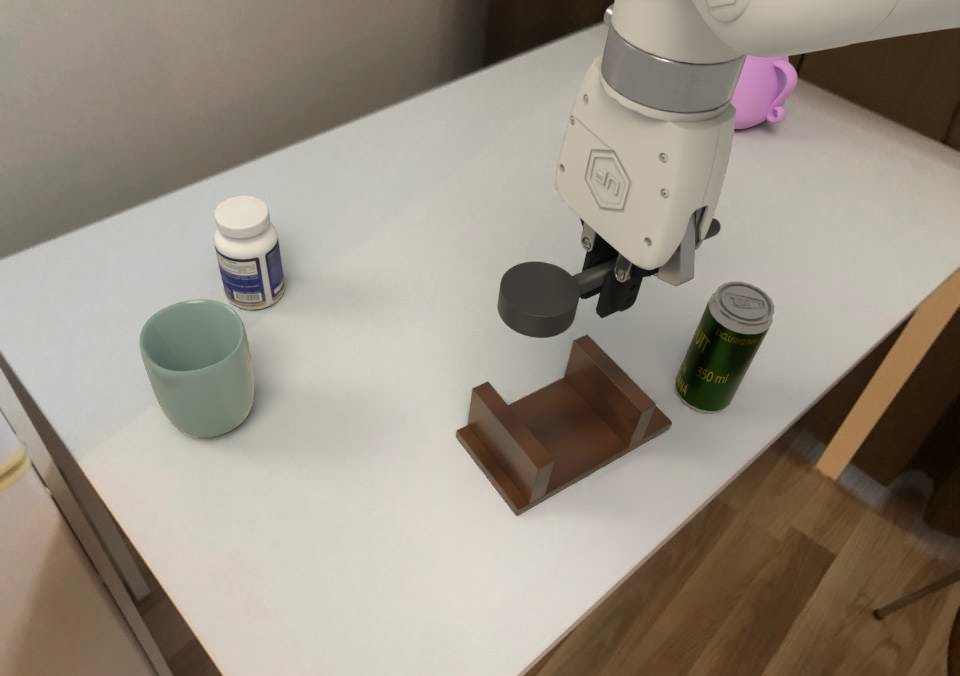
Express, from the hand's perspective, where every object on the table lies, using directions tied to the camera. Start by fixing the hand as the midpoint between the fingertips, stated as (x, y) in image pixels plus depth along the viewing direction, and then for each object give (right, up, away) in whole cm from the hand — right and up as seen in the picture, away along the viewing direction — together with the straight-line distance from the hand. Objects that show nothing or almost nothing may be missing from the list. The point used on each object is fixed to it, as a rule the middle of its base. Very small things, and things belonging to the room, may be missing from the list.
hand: (604, 299), depth 57 cm
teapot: (+24, +29, +53) cm, 65 cm away
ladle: (0, +1, -2) cm, 2 cm away
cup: (-32, -9, +11) cm, 35 cm away
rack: (-2, -11, +12) cm, 17 cm away
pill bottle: (-31, +2, +21) cm, 37 cm away
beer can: (+12, -8, +17) cm, 22 cm away
